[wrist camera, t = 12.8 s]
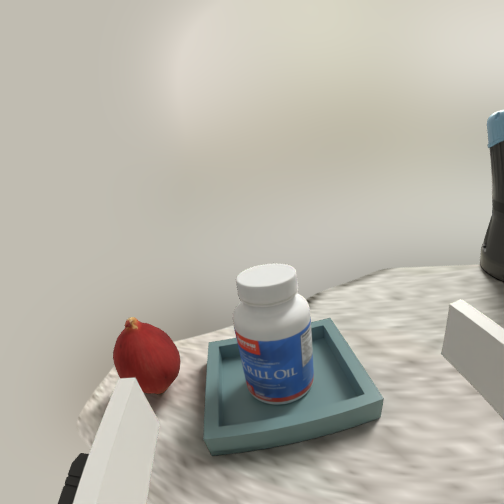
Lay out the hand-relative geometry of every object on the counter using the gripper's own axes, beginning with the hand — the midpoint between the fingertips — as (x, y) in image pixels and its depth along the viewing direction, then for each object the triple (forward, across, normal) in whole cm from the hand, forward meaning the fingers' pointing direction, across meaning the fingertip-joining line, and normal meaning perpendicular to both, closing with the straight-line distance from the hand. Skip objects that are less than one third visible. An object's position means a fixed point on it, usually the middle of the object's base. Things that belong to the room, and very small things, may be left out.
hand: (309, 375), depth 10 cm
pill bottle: (+10, -1, -9) cm, 13 cm away
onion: (+12, -11, -10) cm, 19 cm away
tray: (+10, 0, -10) cm, 14 cm away
